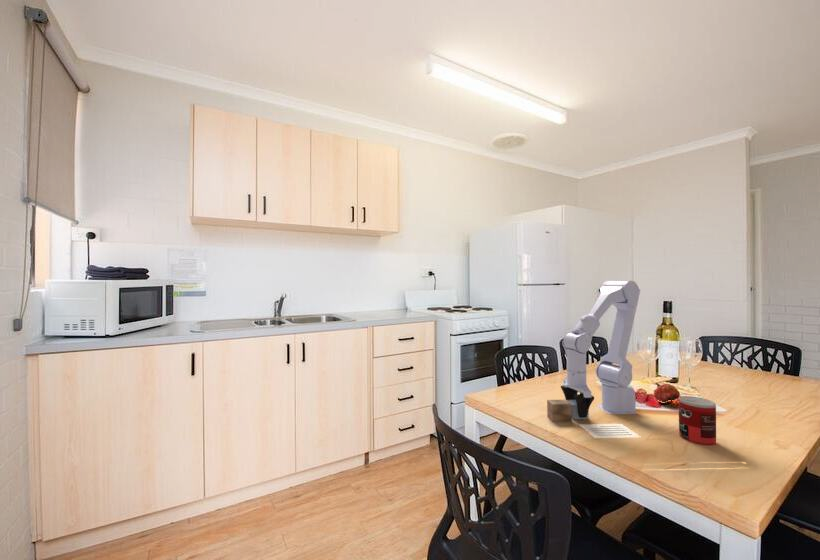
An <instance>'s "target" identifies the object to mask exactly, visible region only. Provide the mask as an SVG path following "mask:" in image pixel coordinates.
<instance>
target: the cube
mask: <svg viewBox="0 0 820 560" xmlns="http://www.w3.org/2000/svg"><path fill="white" fill-rule="evenodd" d="M567 401H568V402H570V403H571V404H572V420H589V419H590V416H589V414H590V413H589V410H588V414H587V417H586V418H580V417H579V415H578V408H577V403H576V400H567Z"/></svg>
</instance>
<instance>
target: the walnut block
mask: <svg viewBox="0 0 820 560" xmlns="http://www.w3.org/2000/svg"><path fill="white" fill-rule="evenodd" d="M546 402H547V403H546V405H547V406H546V407H547V411H546V413H547V414H546V415H547V418H548V419H549V420H550V421H551V422H552V423H553V422H554V423H557V422H558V423H561V422H562V423H563V422H572V421H573V419H572V404H571V403H570V402H568V401H567V400H566V399H547V400H546Z"/></svg>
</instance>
